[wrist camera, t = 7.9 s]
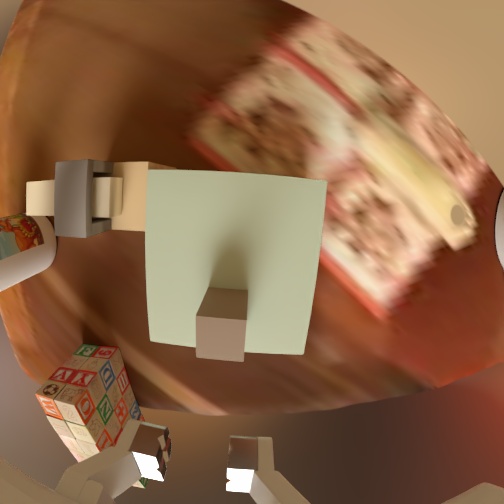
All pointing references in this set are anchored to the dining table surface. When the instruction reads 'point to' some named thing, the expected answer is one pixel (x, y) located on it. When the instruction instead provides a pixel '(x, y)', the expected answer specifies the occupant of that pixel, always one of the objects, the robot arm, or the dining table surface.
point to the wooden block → (103, 197)
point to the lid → (232, 260)
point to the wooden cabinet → (80, 196)
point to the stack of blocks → (90, 401)
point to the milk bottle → (25, 247)
